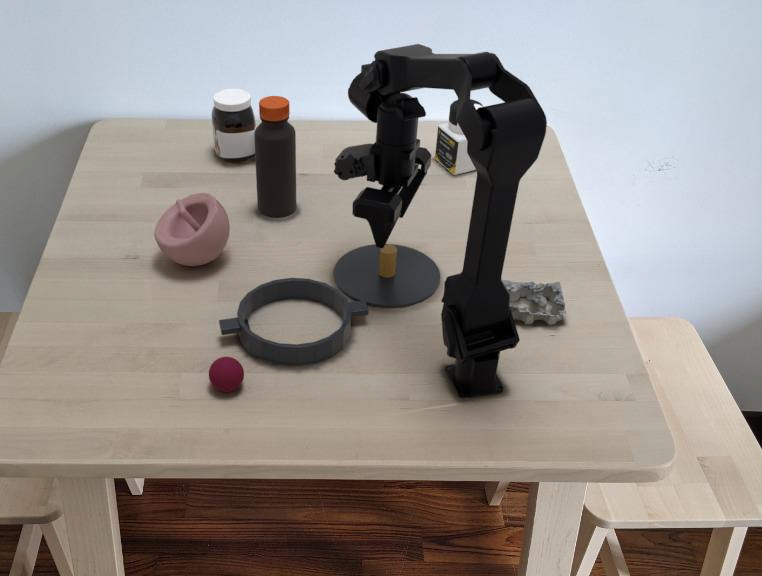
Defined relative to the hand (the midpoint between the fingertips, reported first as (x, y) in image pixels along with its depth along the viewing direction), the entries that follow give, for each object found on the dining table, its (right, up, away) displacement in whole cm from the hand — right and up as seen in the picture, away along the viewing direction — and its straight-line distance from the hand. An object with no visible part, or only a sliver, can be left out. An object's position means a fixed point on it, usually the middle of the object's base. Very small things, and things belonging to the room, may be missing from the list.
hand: (389, 231), depth 138 cm
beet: (-23, -24, -13) cm, 35 cm away
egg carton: (+20, -13, -1) cm, 24 cm away
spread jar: (-24, +21, +36) cm, 48 cm away
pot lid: (0, -6, +6) cm, 8 cm away
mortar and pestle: (-31, -3, +10) cm, 33 cm away
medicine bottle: (+16, +18, +34) cm, 42 cm away
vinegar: (-18, +7, +21) cm, 29 cm away
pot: (-14, -16, -4) cm, 22 cm away
